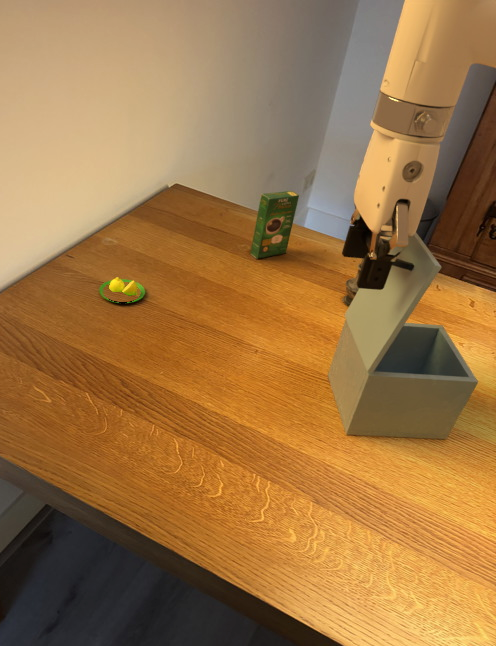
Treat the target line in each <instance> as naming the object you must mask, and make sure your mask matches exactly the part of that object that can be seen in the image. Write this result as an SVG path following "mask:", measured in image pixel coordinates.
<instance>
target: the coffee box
mask: <svg viewBox="0 0 496 646" xmlns="http://www.w3.org/2000/svg"><path fill="white" fill-rule="evenodd" d="M299 199H300V195H299V194H298V193H296V192H295V191H293V190H285V191H277V192H265V193H261V194H260V199H259V204H258V210H257V216H256V220H255V226H254V232H253V237H252V241H251V247H250V253H249V254H250V255H251V256H252V257H253V258H254V259H257V260H258V259H265V258H268V257H273V256H280V255H284V254H286V253H287V251H288V247H289V243H290V236H291V232H292V229H293V223H294V220H295V216H296V210H297V207H298V203H299Z"/></svg>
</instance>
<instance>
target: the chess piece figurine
mask: <svg viewBox="0 0 496 646" xmlns="http://www.w3.org/2000/svg"><path fill="white" fill-rule="evenodd" d="M368 255H369V253H368ZM363 262H364V259H362V258H361V262H360V263H359V264H357V273H356V276H355V277H354V278H353V277H352V278H349V279H347V280H346V281H345V286H346V287H345V289H346V293H347V294H345V295H344V296H343V297H342V302H343V304H344V305H345V306H347V308H349V306H350V304H351V302H352V301H353V299H354V297H355V295H356V293H357V292H358V290H359V288H358V286H357V280H358V277H359V274H360V271H361V268H362V265H363Z"/></svg>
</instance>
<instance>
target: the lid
mask: <svg viewBox="0 0 496 646" xmlns="http://www.w3.org/2000/svg"><path fill="white" fill-rule="evenodd" d="M372 233H373V232H372V231H371V230H367V231H365V232H364V233H363V235H362V242H363V244H364V245H365V247H366V249H367V251H368V253H369V254H370V247H371V240H372ZM390 239H391V237H388V238H387V240H386V239H382V238H380V243H379V247H380V246H381V245H383V244H384V243H388V242H389V240H390ZM438 261H439V260H437V259H436V257H435V256H434V255H433V253H432V252H431V251H430V249H429V248H428V246H427V245H426V244H425V243H424V241H423V240H422V238H421V237H420V236H419V234H418V233H417V231H416V232H415V234H414V235H413V236H412V237H408V245H407V247H406V248H405V249H403V250H402V251H401V253H400V254H399V255H398V256H397V259H396V261H395V262H393V264H392V267H391V270H390V272H389V275H388V278H387V281H386V284H385V286H384V288H383V289H382V290H375V289H362V288H359V290H358V292H357V293H356V295H355V297H354V299H353V301H352V302H351V304H350V306H349V307H347V310H346V311H345V313H344V319H345V320H347V323H348V325H349V328H350V330H351V333H352V335H353V338H354V340H355V343H356V345H357V348H358V350H359V352H360V355H361V357H362V360H363V362H364V365H365V367H366V370H367V372H371V373H373V371H374V370H375V368H376V367H377V365H378V364H379V362H380V361H381V359H382V358H383V356H384V355H385V353H386V352H387V350H388V349H389V347H390V345H391V344H392V342H393V341H394V339H395V338H396V336H397V335H398V333H399V332H400V330H401V329H402V327H403V326H404V324H405V323H407V321H408V319H409V318H410V316H411V315H412V313H413V312H414V310H415V309H416V307H417V306H418V304H419V303H420V301H421V299H422V298H423V296H424V295H425V294H426V292H427V291H428V289H429V287H430V286H431V285H432V283H433V281H434V280H435V279H436V277H437V275H438V274H439V272H440V270H441V269H442V266H441V264H440V263H439V262H438Z"/></svg>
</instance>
